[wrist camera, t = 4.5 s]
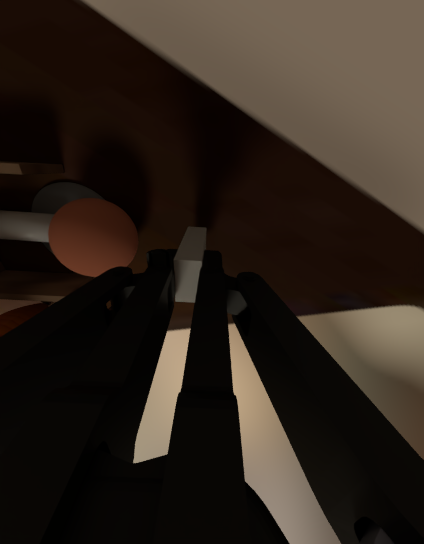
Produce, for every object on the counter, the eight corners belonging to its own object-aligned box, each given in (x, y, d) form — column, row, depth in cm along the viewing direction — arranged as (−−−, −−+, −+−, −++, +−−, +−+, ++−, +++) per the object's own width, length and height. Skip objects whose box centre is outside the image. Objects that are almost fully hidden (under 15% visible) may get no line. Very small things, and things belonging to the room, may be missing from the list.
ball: (13, 247, 14) (82, 228, 19) (82, 305, 15) (129, 271, 20) (39, 179, 11) (110, 178, 17) (121, 255, 12) (164, 231, 17)
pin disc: (141, 237, 19) (140, 238, 19) (88, 281, 21) (87, 282, 21) (67, 159, 16) (65, 159, 16) (15, 221, 18) (13, 221, 18)
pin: (48, 216, 15) (-65, 207, 15) (58, 250, 17) (-46, 243, 16) (70, 209, 18) (-26, 202, 17) (77, 239, 19) (-12, 233, 19)
